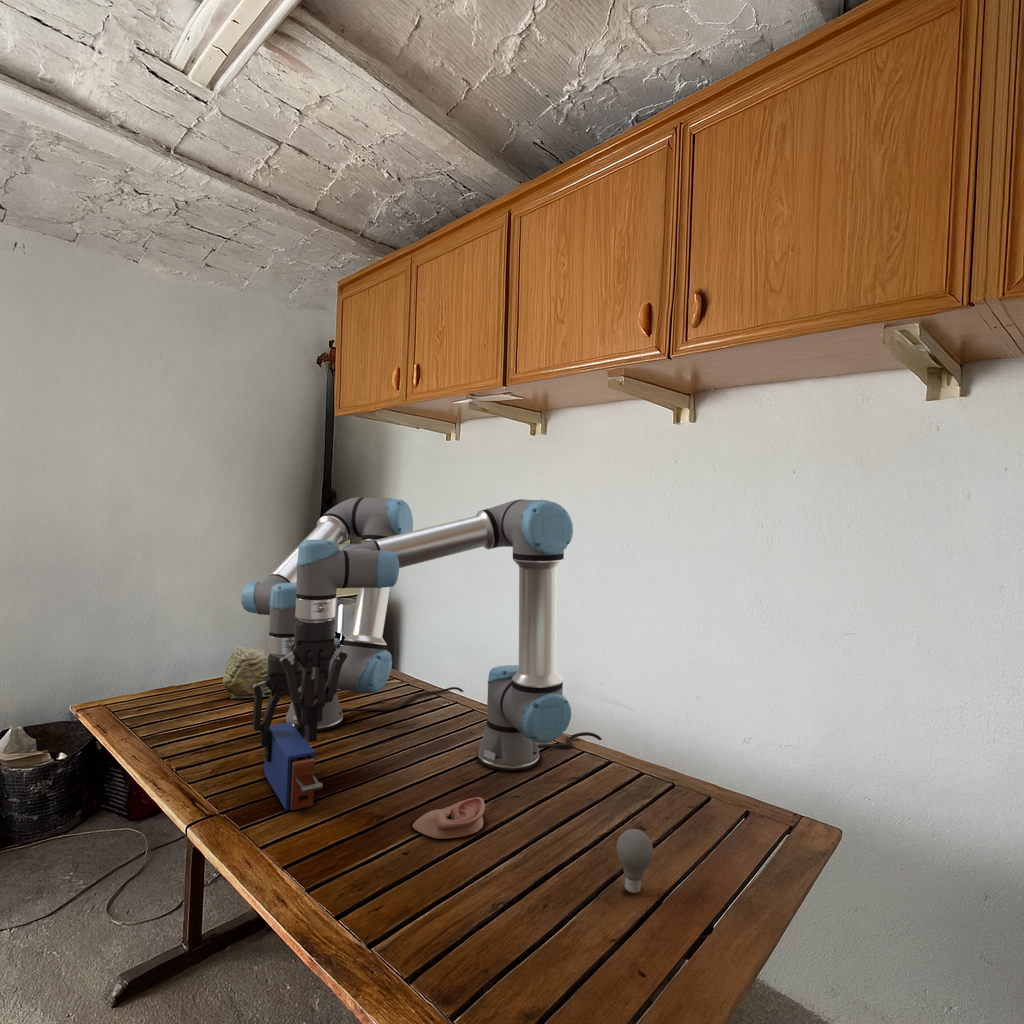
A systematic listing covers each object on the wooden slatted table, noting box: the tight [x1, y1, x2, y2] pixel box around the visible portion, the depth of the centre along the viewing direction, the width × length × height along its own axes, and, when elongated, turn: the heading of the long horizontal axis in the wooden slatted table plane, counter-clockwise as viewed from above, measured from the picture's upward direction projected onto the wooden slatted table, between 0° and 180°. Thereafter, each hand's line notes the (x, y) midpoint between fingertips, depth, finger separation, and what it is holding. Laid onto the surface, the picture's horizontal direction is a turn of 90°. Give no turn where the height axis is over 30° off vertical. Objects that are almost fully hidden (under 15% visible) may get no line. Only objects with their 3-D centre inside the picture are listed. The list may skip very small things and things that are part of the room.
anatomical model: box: [412, 796, 486, 840], centre depth 124 cm, size 13×4×12 cm
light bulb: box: [615, 828, 654, 894], centre depth 106 cm, size 6×6×10 cm
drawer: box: [290, 756, 323, 811], centre depth 132 cm, size 24×4×9 cm, turn 34°
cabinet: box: [263, 722, 316, 811], centre depth 137 cm, size 19×5×11 cm, turn 34°
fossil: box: [222, 646, 271, 699], centre depth 198 cm, size 9×18×15 cm, turn 132°
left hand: (282, 756), depth 141 cm, fingers closed on cabinet, 5 cm apart
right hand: (310, 739), depth 124 cm, fingers closed
